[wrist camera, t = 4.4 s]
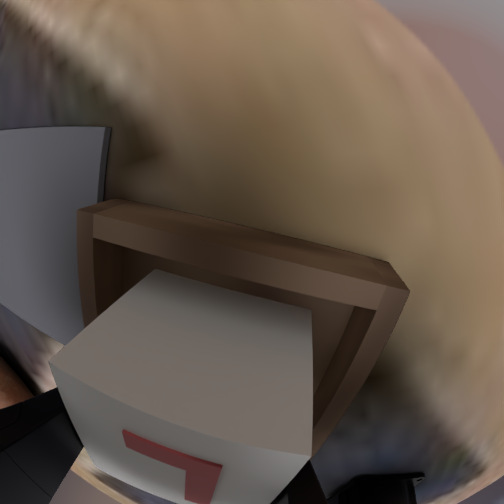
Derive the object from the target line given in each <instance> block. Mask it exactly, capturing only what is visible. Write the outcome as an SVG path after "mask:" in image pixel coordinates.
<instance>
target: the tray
mask: <svg viewBox="0 0 504 504" xmlns="http://www.w3.org/2000/svg"><path fill="white" fill-rule="evenodd" d="M77 261H78V277H79V289H80V299H81V307H82V315H83V322H84V329H85V328H86V327H87V326H88V325H89V324H90V323H91V322H93V321H94V320H95V319H96V318H97V317H98V316H99V315H101V314H102V313H103V312H104V311H105V310H106V309H108V308H109V307H110V306H111V305H112V304H113V303H115V302H116V301H117V300H118V299H119V298H120V297H122V296H123V295H124V294H125V293H126V292H128V291H129V290H130V289H131V288H132V287H134V286H135V285H136V284H137V283H139V282H140V281H141V280H142V279H143V278H145V277H146V276H147V275H148V274H150V273H151V272H152V271H153V270H154V269H158V270H161V271H165V272H168V273H172V274H175V275H179V276H182V277H186V278H189V279H193V280H196V281H200V282H204V283H207V284H211V285H215V286H218V287H222V288H226V289H230V290H233V291H237V292H241V293H245V294H249V295H253V296H257V297H261V298H265V299H269V300H273V301H277V302H281V303H285V304H289V305H293V306H298V307H302V308H306V309H311V316H312V349H313V424H312V455H311V457H310V459H309V460H311V459H312V457H313V456H314V455H315V454H316V452H317V451H318V450H319V448H320V447H321V446H322V445H323V443H324V442H325V441H326V439H327V438H328V437H329V435H330V434H331V432H332V431H333V430H334V428H335V427H336V425H337V424H338V423H339V421H340V420H341V418H342V417H343V415H344V414H345V412H346V411H347V409H348V408H349V406H350V405H351V403H352V402H353V400H354V399H355V397H356V395H357V394H358V392H359V391H360V389H361V387H362V386H363V384H364V382H365V381H366V379H367V377H368V376H369V374H370V372H371V370H372V369H373V367H374V365H375V363H376V361H377V360H378V358H379V356H380V354H381V352H382V350H383V348H384V346H385V345H386V343H387V341H388V339H389V337H390V335H391V333H392V331H393V329H394V327H395V324H396V322H397V320H398V318H399V316H400V314H401V312H402V309H403V307H404V305H405V303H406V300H407V298H408V296H409V293H410V290H409V289H408V288H407V286H406V285H405V283H404V282H403V281H402V279H401V278H400V277H399V275H398V274H397V273H396V272H395V270H394V269H393V268H392V266H391V265H390V264H389V262H386V261H382V260H378V259H374V258H371V257H367V256H363V255H359V254H355V253H352V252H348V251H344V250H340V249H336V248H332V247H328V246H324V245H320V244H316V243H312V242H308V241H304V240H300V239H296V238H292V237H288V236H284V235H280V234H276V233H272V232H267V231H263V230H259V229H255V228H251V227H246V226H242V225H238V224H233V223H229V222H225V221H220V220H216V219H212V218H207V217H203V216H198V215H194V214H189V213H185V212H180V211H176V210H171V209H166V208H162V207H157V206H152V205H148V204H143V203H138V202H133V201H128V200H124V199H119V198H114V199H111V200H107V201H104V202H100V203H97V204H93V205H90V206H87V207H84V208H80V209H77Z"/></svg>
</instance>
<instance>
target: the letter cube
mask: <svg viewBox="0 0 504 504" xmlns="http://www.w3.org/2000/svg"><path fill="white" fill-rule="evenodd" d="M48 362H49V365H50V368H51V371H52V374H53V377H54V379H55V382H56V385H57V388H58V390H59V393H60V395H61V398H62V400H63V403H64V405H65V407H66V410H67V412H68V414H69V417H70V419H71V421H72V423H73V425H74V427H75V429H76V432H77V434H78V436H79V438H80V440H81V442H82V443H83V445H84V447H85V449H86V451H87V453H88V455H89V456H90V458H91V460H92V462H93V463H94V465H95V467H96V468H98V469H100V470H102V471H104V472H105V473H107V474H109V475H111V476H113V477H115V478H117V479H119V480H121V481H123V482H126V483H128V484H130V485H132V486H134V487H137V488H139V489H141V490H144V491H146V492H148V493H151V494H153V495H156V496H159V497H161V498H164V499H167V500H169V501H172V502H175V503H178V504H270V503H271V502H272V501H273V500H274V499H275V498H276V497H277V496H278V495H279V493H280V492H281V491H282V490H283V489H284V488H285V487H286V486H287V485H288V484H289V482H290V481H291V480H292V479H293V478H294V477H295V476H296V474H297V473H298V472H299V471H300V470H301V468H302V467H303V466H304V465H305V464H306V462H307V461H308V460H309V459H310V457H311V455H312V424H313V349H312V316H311V309H306V308H302V307H298V306H293V305H289V304H285V303H281V302H277V301H273V300H269V299H265V298H261V297H257V296H253V295H249V294H245V293H241V292H237V291H233V290H230V289H226V288H222V287H218V286H215V285H211V284H207V283H204V282H200V281H196V280H193V279H189V278H186V277H182V276H179V275H175V274H172V273H168V272H165V271H161V270H158V269H154V270H153V271H152V272H151V273H150V274H148V275H147V276H146V277H145V278H143V279H142V280H141V281H140V282H139V283H137V284H136V285H135V286H134V287H132V288H131V289H130V290H129V291H128V292H126V293H125V294H124V295H123V296H122V297H120V298H119V299H118V300H117V301H116V302H115V303H113V304H112V305H111V306H110V307H109V308H108V309H106V310H105V311H104V312H103V313H102V314H101V315H99V316H98V317H97V318H96V319H95V320H94V321H93V322H91V323H90V324H89V325H88V326H87V327H86V328H85V329H83V330H82V331H81V332H80V333H79V334H78V335H77V336H76V337H74V338H73V339H72V340H71V341H70V342H69V343H68V344H67V345H66V346H65V347H63V348H62V349H61V350H60V351H59V352H58V353H57V354H56V355H55V356H54V357H53V358H51V359H50V360H49V361H48Z"/></svg>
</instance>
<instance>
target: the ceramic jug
mask: <svg viewBox="0 0 504 504" xmlns="http://www.w3.org/2000/svg"><path fill="white" fill-rule="evenodd" d="M32 397H34V396H33V394H32V393H31V391H30V390H29V389H28V387H27V386H26V385H25V384H24V382H23V381H22V380H21V378H20V377H19V376H18V375H17V373H16V372H15V371H14V370H13V369H12V368H11V367H10V366H9V364H8V363H7V362H6V361H5V360H4V359H3V358H2V357H1V356H0V409H1V408H5V407H8V406H11V405H14V404H16V403H19V402H23V401H24V400H27V399H30V398H32Z"/></svg>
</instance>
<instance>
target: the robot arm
mask: <svg viewBox="0 0 504 504" xmlns="http://www.w3.org/2000/svg"><path fill="white" fill-rule="evenodd" d="M83 447H84V445H83V443H82V442H81V440H80V438H79V436H78V434H77V432H76V429H75V427H74V425H73V423H72V421H71V419H70V417H69V414H68V412H67V410H66V407H65V405H64V403H63V400H62V398H61V395H60V393H59V390H58V388H54V389H52V390H50V391H47V392H45V393H42V394H40V395H37V396H35V397H32V398H30V399H27V400H24V401H23V402H19V403H16V404H14V405H11V406H8V407H5V408H1V409H0V504H49V503H50V501H51V499H52V497H53V496H54V494H55V492H56V491H57V489H58V487H59V486H60V484H61V482H62V481H63V479H64V477H65V476H66V474H67V473H68V471H69V469H70V468H71V466H72V465H73V463H74V461H75V460H76V458H77V457H78V455H79V453H80V452H81V450H82V449H83ZM424 479H425V474H424V473H421V474H411V475H400V476H381V477H358V478H355V479H353V480H352V481H351V482H350V483H349V484H347V485H346V486H345V487H344V488H343V489H341V490H340V491H339V492H338V493H337V494H335V495H334V496H333V497H331V498H330V499H329V500H328V501H327V499H326V497H325V495H324V492H323V490H322V488H321V485H320V483H319V481H318V479H317V476H316V474H315V471H314V469H313V467H312V464H311V462H310V460H308V461H307V462H306V464H305V465H304V466H303V467H302V468H301V470H300V471H299V472H298V473H297V474H296V476H295V477H294V478H293V479H292V480H291V481H290V482H289V484H288V485H287V486H286V487H285V488H284V489H283V490H282V491H281V492H280V493H279V495H278V496H277V497H276V498H275V499H274V500H273V501H272V502H271V503H270V504H417V501H416V495H415V489H414V487H415V486H416V485H417V484H419V483H420V482H421V481H423V480H424Z"/></svg>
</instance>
